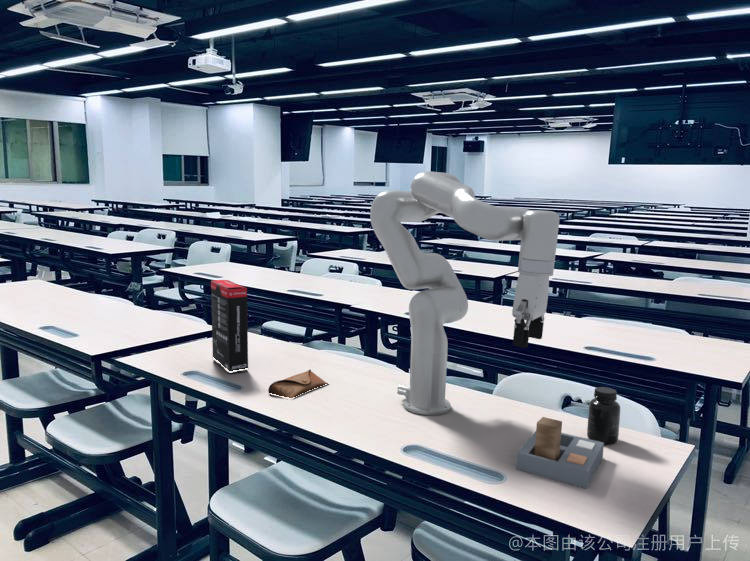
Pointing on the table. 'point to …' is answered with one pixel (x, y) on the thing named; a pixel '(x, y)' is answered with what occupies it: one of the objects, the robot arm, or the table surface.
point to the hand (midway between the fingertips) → (527, 342)
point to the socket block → (564, 460)
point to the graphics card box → (229, 324)
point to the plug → (548, 438)
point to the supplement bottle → (604, 416)
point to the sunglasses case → (296, 384)
